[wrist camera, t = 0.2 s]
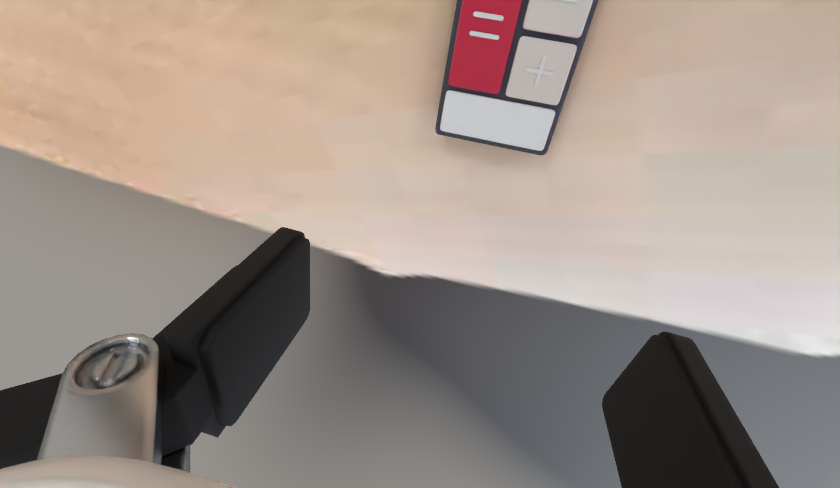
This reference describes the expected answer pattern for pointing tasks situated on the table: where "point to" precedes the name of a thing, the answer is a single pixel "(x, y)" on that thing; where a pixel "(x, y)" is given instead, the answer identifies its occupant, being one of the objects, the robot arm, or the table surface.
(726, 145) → the table surface
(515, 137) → the black buttoned block
